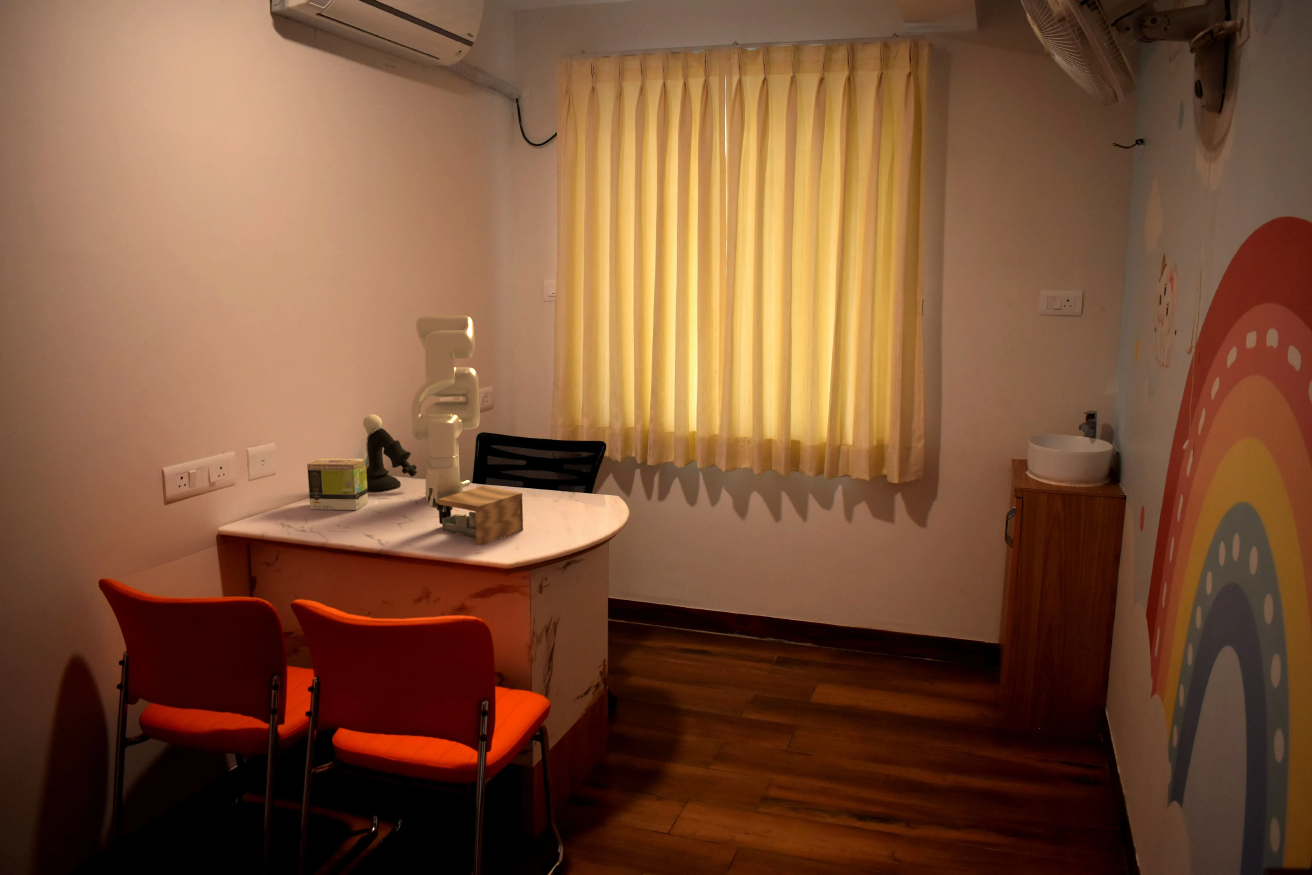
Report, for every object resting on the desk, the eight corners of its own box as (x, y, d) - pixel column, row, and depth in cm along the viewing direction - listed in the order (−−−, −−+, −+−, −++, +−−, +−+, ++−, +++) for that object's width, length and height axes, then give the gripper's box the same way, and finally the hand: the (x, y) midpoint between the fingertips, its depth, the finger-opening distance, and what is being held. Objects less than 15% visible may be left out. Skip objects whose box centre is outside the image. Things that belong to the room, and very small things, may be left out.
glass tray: (457, 525, 267) (457, 508, 266) (496, 533, 259) (495, 516, 258) (442, 530, 262) (441, 513, 261) (481, 538, 254) (481, 521, 253)
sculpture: (374, 480, 323) (370, 410, 318) (430, 486, 314) (427, 414, 309) (344, 489, 309) (340, 416, 304) (402, 496, 300) (399, 421, 295)
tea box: (369, 503, 292) (366, 457, 289) (355, 511, 282) (353, 464, 279) (323, 501, 293) (321, 456, 290) (309, 509, 283) (306, 463, 280)
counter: (483, 522, 270) (482, 486, 268) (523, 530, 262) (522, 492, 260) (439, 537, 255) (438, 498, 253) (479, 545, 247) (478, 506, 245)
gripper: (452, 455, 269) (454, 515, 273) (414, 465, 257) (416, 527, 260) (471, 458, 265) (473, 519, 269) (433, 468, 253) (435, 532, 257)
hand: (445, 523), depth 265 cm, fingers closed
